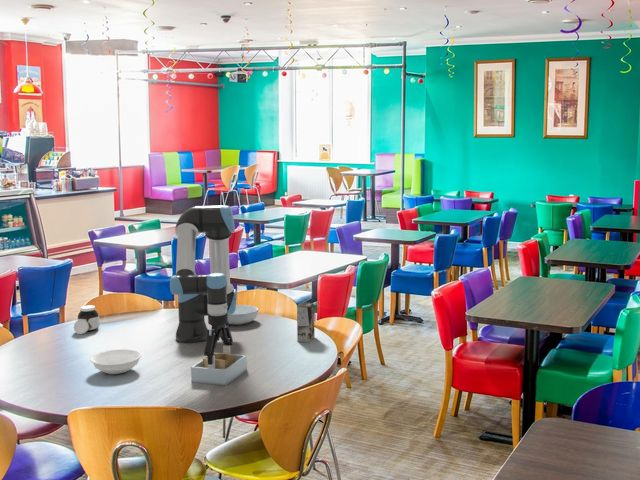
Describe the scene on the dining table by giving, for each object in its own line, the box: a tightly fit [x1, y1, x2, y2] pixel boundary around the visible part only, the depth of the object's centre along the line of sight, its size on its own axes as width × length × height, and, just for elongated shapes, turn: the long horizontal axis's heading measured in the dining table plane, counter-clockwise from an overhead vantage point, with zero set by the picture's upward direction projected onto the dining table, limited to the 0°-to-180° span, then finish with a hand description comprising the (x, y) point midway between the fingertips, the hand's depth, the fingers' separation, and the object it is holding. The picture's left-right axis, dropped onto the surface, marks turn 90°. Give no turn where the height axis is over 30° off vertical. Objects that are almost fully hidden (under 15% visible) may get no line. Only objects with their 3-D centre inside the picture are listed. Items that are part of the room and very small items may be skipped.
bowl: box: [90, 349, 142, 375], centre depth 304 cm, size 20×20×6 cm
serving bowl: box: [228, 304, 259, 326], centre depth 378 cm, size 21×21×7 cm
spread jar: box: [73, 304, 100, 335], centre depth 365 cm, size 12×11×12 cm
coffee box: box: [296, 302, 316, 343], centre depth 346 cm, size 9×6×16 cm
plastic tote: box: [190, 352, 248, 387], centre depth 297 cm, size 14×19×6 cm
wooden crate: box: [202, 352, 236, 370], centre depth 297 cm, size 10×8×7 cm
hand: (219, 366), depth 297 cm, fingers open, 13 cm apart
